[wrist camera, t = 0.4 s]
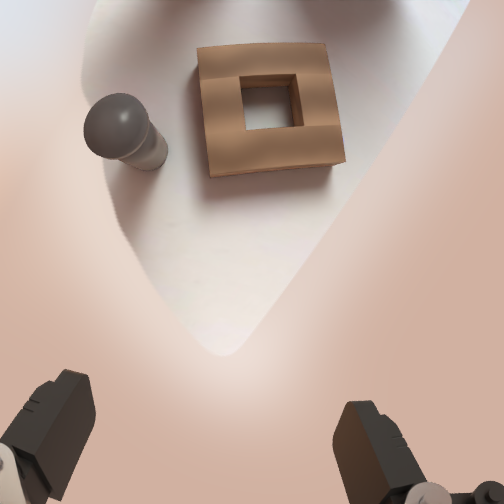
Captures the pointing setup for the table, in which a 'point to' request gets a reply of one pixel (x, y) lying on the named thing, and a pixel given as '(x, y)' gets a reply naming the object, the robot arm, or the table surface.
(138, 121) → the plug
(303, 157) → the socket block
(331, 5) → the table surface
